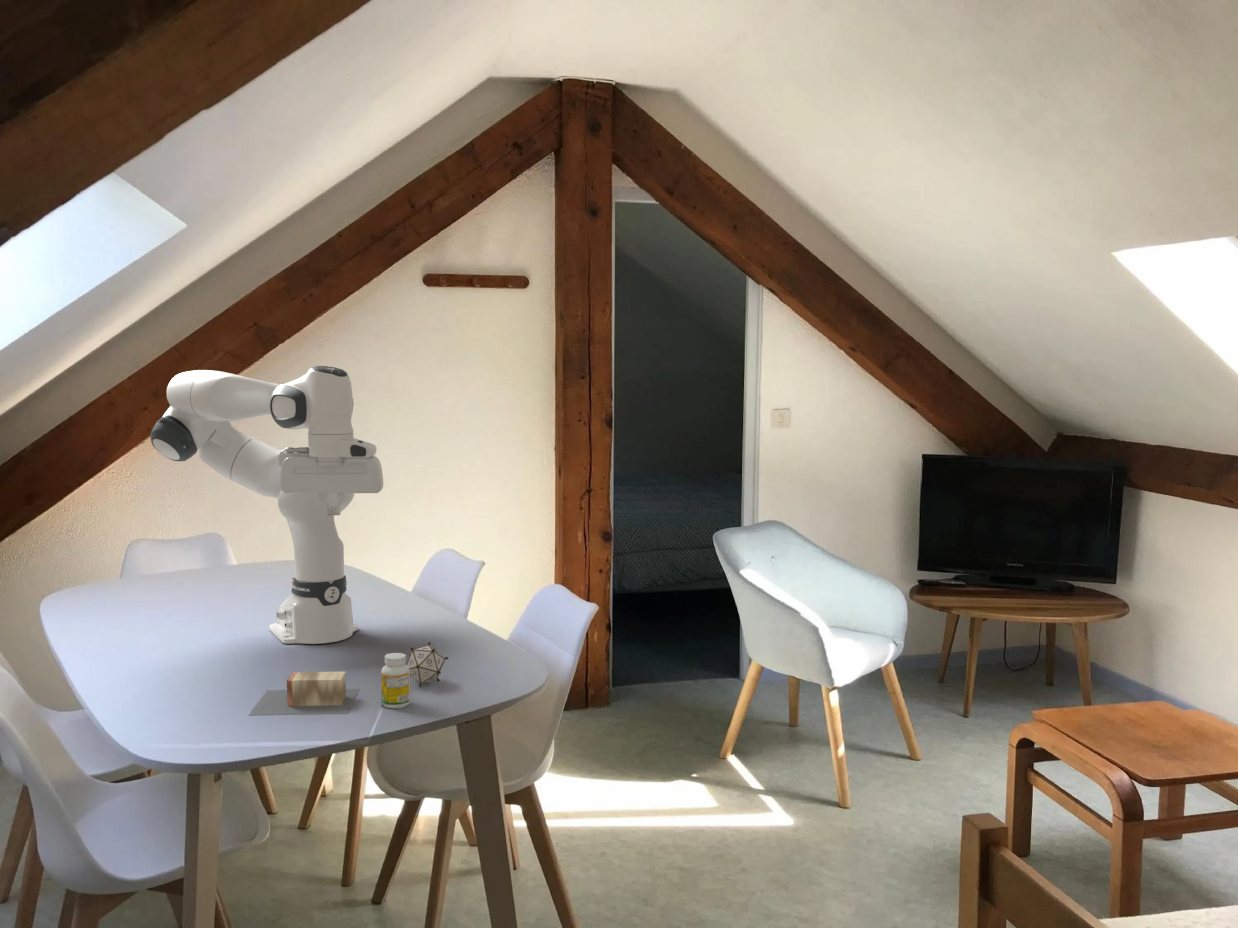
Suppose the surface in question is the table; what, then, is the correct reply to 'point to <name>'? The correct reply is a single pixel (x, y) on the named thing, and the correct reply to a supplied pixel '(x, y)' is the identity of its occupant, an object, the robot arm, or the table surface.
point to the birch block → (316, 688)
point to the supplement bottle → (395, 681)
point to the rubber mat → (277, 705)
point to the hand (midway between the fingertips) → (332, 514)
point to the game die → (425, 664)
